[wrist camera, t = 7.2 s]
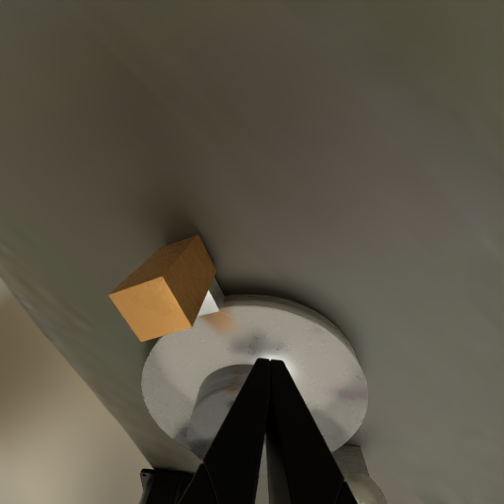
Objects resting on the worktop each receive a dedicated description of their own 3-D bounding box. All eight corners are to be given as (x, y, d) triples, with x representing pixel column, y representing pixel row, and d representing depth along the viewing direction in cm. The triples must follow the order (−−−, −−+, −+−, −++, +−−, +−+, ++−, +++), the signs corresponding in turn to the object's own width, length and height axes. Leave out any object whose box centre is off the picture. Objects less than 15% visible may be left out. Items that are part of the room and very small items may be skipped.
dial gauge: (358, 464, 26) (384, 557, 20) (320, 459, 26) (335, 550, 20) (367, 443, 25) (397, 536, 19) (327, 438, 25) (344, 529, 19)
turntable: (378, 428, 23) (412, 517, 17) (205, 456, 26) (189, 537, 21) (306, 193, 15) (327, 219, 10) (76, 279, 19) (-6, 334, 13)
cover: (291, 437, 21) (295, 491, 18) (199, 428, 21) (186, 479, 18) (304, 369, 18) (312, 419, 15) (196, 359, 18) (180, 405, 15)
